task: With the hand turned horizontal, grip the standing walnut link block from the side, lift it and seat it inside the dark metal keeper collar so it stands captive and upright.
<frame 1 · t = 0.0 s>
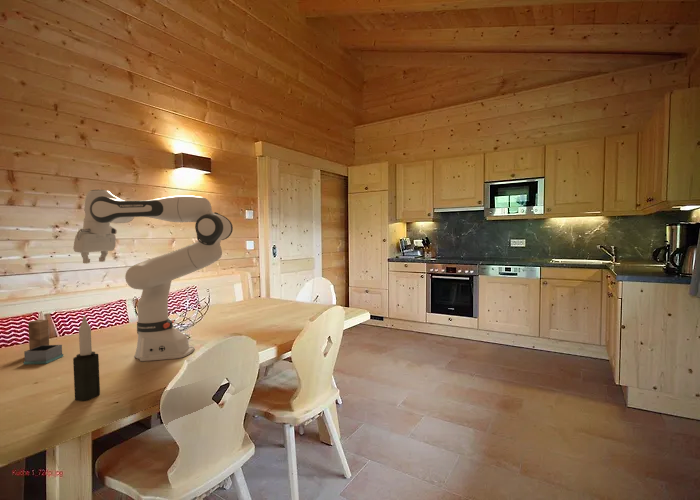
hand: (94, 262, 146), 39 cm above the table, tool pointing down, fingers open, 8 cm apart
link block: (39, 353, 151), on the table
candle: (87, 397, 109), on the table
keeper collar: (44, 360, 142), on the table
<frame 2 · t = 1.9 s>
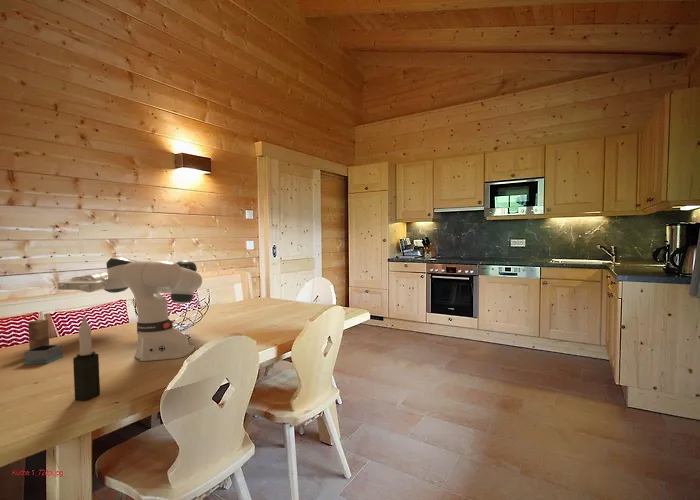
hand: (68, 288, 166), 26 cm above the table, tool horizontal, fingers open, 8 cm apart
nothing on the table moved.
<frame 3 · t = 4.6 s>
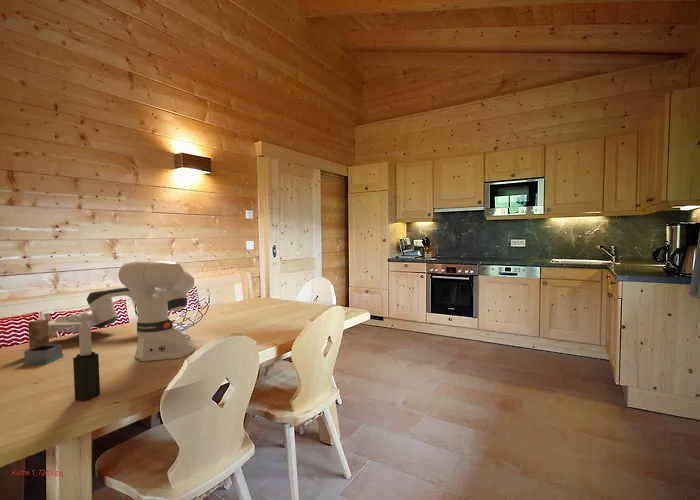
hand: (54, 331, 159), 7 cm above the table, tool horizontal, fingers open, 8 cm apart
nothing on the table moved.
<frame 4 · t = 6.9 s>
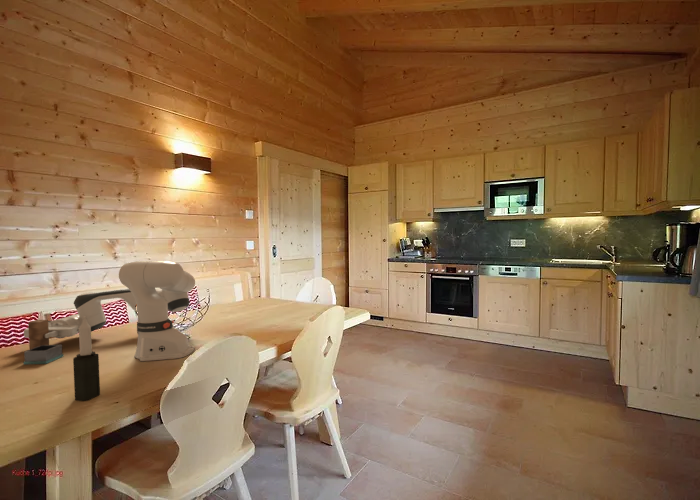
hand: (37, 336, 150), 8 cm above the table, tool horizontal, fingers closed on link block, 4 cm apart
link block: (39, 353, 151), on the table, touching gripper
everything else where it was.
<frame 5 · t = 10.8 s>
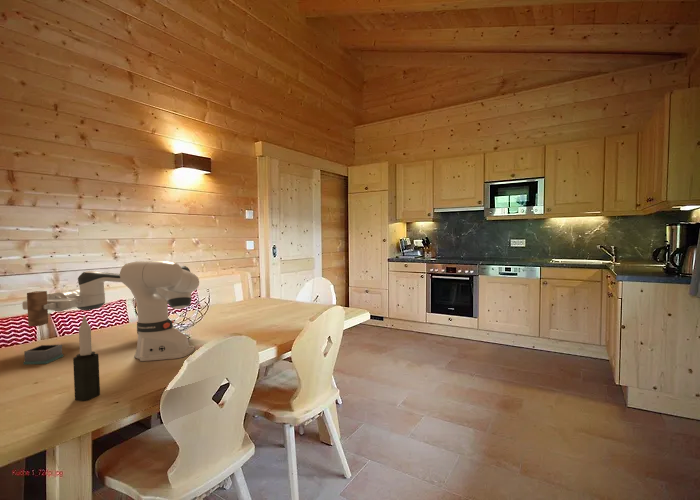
hand: (35, 307, 149), 20 cm above the table, tool horizontal, fingers closed on link block, 4 cm apart
link block: (38, 324, 150), point 12 cm above the table, touching gripper
everything else where it was.
when the fingers open (10 cm above the table, at t = 15.0 s): link block drops 2 cm, resting on keeper collar.
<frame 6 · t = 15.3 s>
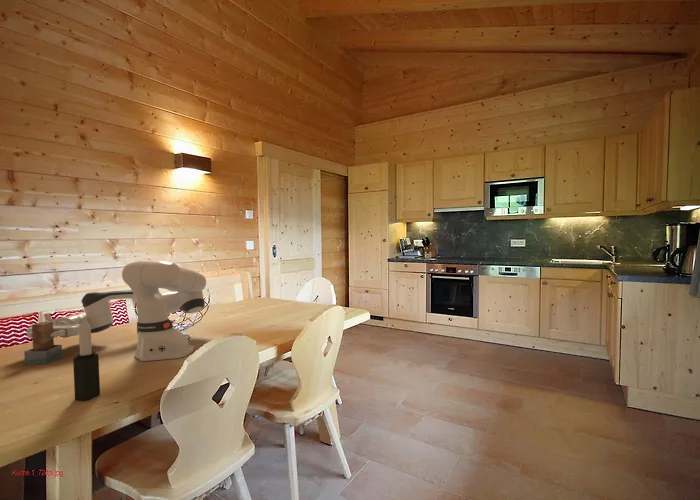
hand: (41, 335, 141), 10 cm above the table, tool horizontal, fingers open, 7 cm apart
link block: (44, 357, 142), point 1 cm above the table, touching keeper collar
everything else where it was.
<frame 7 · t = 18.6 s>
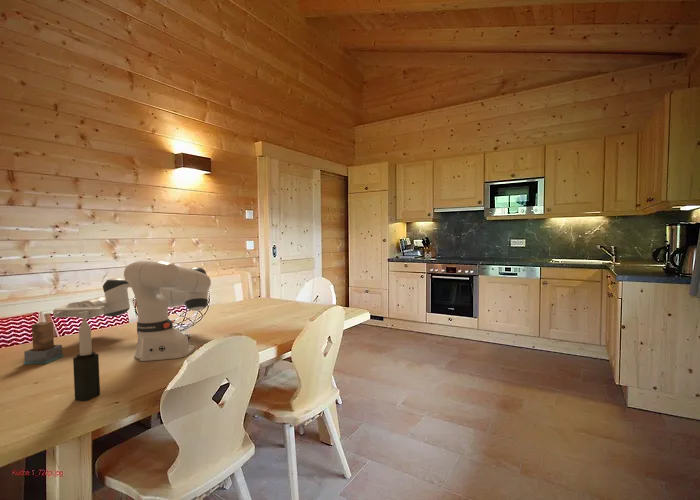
hand: (66, 315, 155), 15 cm above the table, tool horizontal, fingers open, 8 cm apart
nothing on the table moved.
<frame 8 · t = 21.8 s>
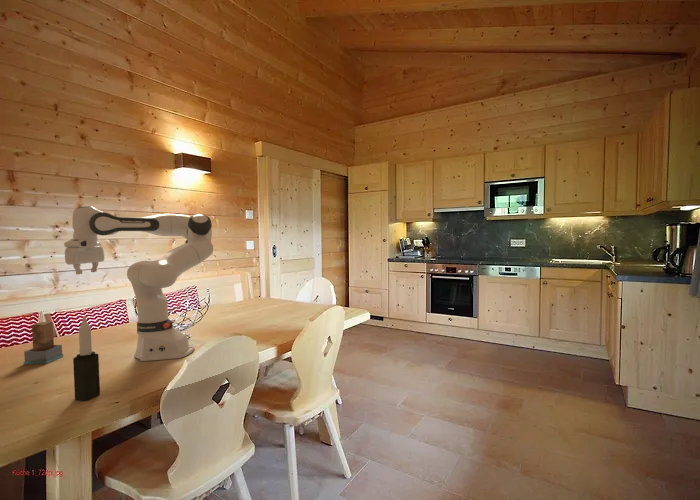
hand: (86, 273, 160), 33 cm above the table, tool pointing down, fingers open, 8 cm apart
nothing on the table moved.
at the end: link block 0.0 cm off-centre on the keeper collar, point 1.0 cm above the keeper collar's base; link block tilted 0°; the gripper is holding nothing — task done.
